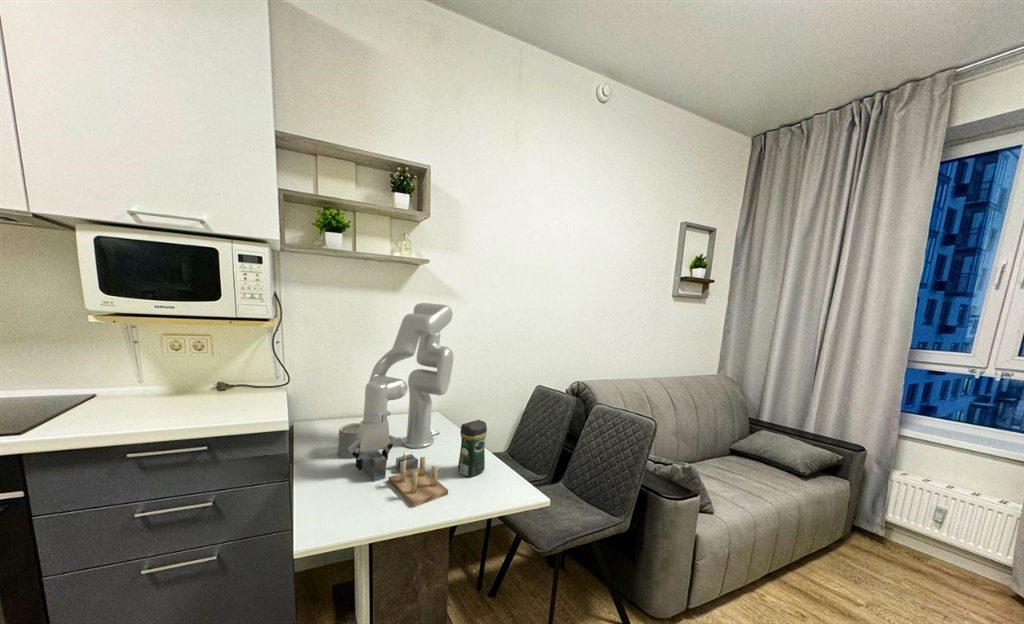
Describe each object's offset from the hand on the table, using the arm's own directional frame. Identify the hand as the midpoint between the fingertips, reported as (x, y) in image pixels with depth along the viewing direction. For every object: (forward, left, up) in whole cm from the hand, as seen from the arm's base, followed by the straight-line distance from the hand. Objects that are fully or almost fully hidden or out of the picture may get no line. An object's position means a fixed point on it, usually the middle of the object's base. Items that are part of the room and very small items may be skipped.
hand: (371, 465), depth 123 cm
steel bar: (0, 0, -2) cm, 2 cm away
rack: (-8, +18, -2) cm, 20 cm away
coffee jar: (-29, +19, -2) cm, 35 cm away
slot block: (-11, +4, -2) cm, 12 cm away
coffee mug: (-1, -19, -2) cm, 19 cm away
